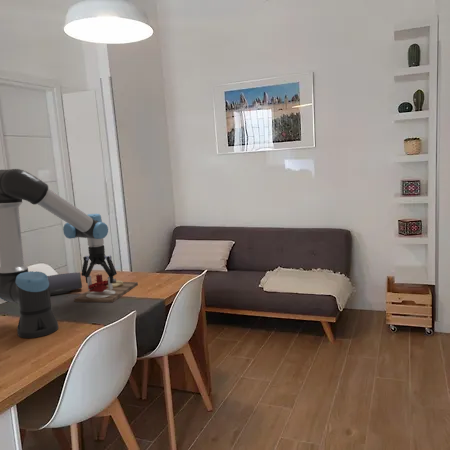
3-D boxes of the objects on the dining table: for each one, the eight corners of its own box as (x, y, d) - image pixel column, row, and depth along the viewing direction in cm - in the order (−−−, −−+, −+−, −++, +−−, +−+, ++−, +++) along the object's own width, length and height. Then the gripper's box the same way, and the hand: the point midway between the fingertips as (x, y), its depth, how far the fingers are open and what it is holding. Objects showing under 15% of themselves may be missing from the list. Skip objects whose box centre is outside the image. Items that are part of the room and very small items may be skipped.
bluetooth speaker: (81, 287, 242) (79, 269, 241) (82, 292, 234) (80, 273, 232) (36, 294, 234) (33, 275, 233) (35, 299, 226) (33, 279, 224)
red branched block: (106, 285, 230) (104, 269, 229) (114, 290, 220) (112, 273, 219) (85, 289, 224) (83, 273, 223) (92, 295, 214) (91, 278, 213)
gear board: (112, 302, 212) (111, 292, 212) (74, 301, 217) (73, 291, 216) (137, 284, 241) (137, 275, 241) (103, 284, 246) (102, 275, 245)
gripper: (121, 243, 220) (125, 287, 223) (78, 244, 225) (83, 287, 228) (114, 246, 212) (118, 291, 216) (70, 247, 217) (75, 291, 221)
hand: (100, 289), depth 222 cm, fingers closed on red branched block, 10 cm apart
